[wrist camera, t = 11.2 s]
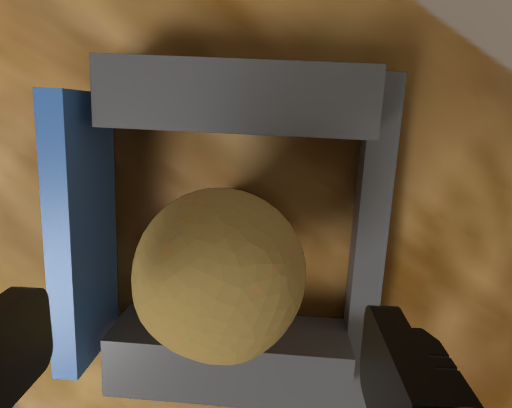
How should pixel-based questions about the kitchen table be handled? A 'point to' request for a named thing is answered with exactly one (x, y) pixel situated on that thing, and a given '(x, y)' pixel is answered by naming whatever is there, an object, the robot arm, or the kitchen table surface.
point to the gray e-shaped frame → (211, 121)
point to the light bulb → (218, 276)
